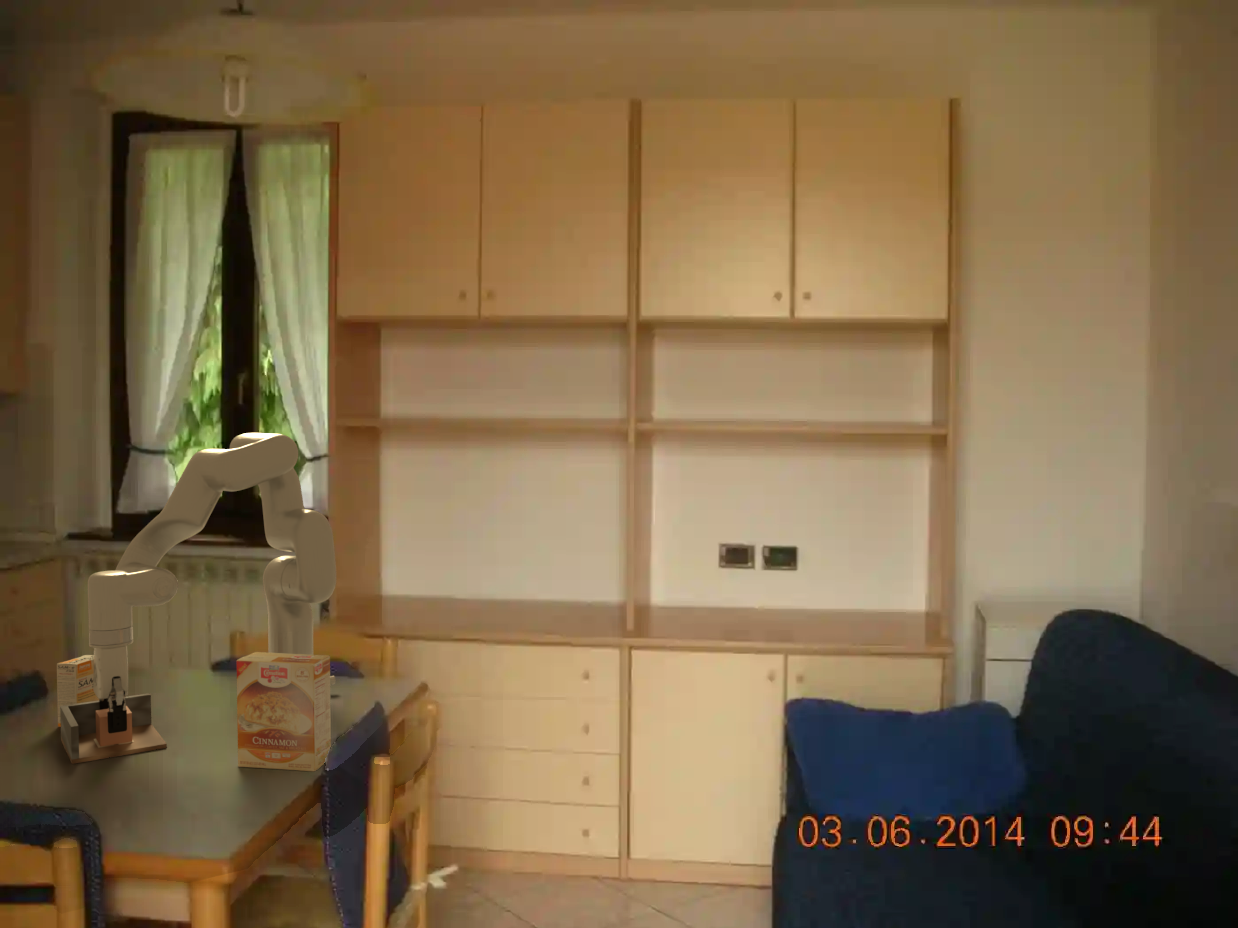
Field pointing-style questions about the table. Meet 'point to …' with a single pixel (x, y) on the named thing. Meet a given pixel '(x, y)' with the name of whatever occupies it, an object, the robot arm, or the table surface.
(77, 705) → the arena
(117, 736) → the cube
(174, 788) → the table surface
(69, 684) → the supplement box
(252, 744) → the coffeecake box
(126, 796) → the table surface
